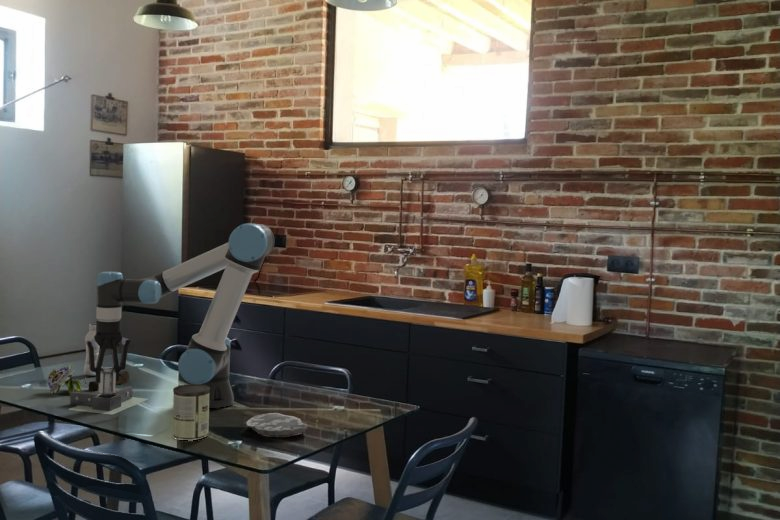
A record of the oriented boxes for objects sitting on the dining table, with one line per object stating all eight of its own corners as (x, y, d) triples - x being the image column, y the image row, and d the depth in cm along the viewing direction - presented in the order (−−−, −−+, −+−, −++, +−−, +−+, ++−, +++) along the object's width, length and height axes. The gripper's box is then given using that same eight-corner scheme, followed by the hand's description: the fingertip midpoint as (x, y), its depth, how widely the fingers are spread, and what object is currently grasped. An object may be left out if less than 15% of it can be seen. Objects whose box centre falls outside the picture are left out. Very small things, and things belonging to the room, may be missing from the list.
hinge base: (121, 406, 234) (121, 394, 234) (109, 411, 228) (110, 398, 228) (77, 401, 238) (77, 389, 238) (65, 406, 232) (65, 394, 232)
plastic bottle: (84, 374, 280) (85, 323, 279) (103, 373, 282) (104, 323, 281) (82, 377, 274) (83, 325, 273) (101, 377, 276) (102, 325, 275)
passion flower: (53, 410, 248) (37, 380, 250) (81, 398, 256) (66, 369, 258) (65, 397, 241) (49, 366, 243) (94, 386, 250) (78, 356, 252)
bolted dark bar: (132, 397, 245) (133, 386, 245) (115, 405, 235) (115, 392, 235) (129, 397, 245) (129, 386, 245) (111, 404, 235) (111, 392, 235)
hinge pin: (115, 407, 233) (116, 367, 233) (108, 409, 230) (109, 369, 229) (105, 405, 234) (105, 366, 234) (97, 408, 231) (98, 368, 230)
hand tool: (96, 393, 253) (96, 380, 252) (87, 391, 254) (88, 378, 254) (134, 383, 270) (135, 371, 270) (126, 381, 272) (126, 369, 271)
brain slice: (233, 429, 217) (233, 419, 217) (279, 420, 229) (279, 410, 229) (270, 445, 204) (271, 435, 203) (317, 435, 215) (318, 425, 215)
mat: (148, 400, 245) (149, 398, 245) (112, 416, 225) (112, 414, 225) (107, 395, 249) (107, 394, 249) (67, 411, 228) (67, 409, 228)
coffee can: (177, 430, 213) (178, 383, 212) (212, 431, 214) (213, 384, 213) (167, 441, 203) (168, 391, 202) (204, 442, 203) (205, 393, 203)
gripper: (132, 317, 238) (130, 387, 239) (79, 319, 229) (78, 391, 230) (137, 320, 232) (135, 392, 233) (83, 322, 223) (82, 397, 224)
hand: (107, 391), depth 232 cm, fingers closed on hinge pin, 3 cm apart
